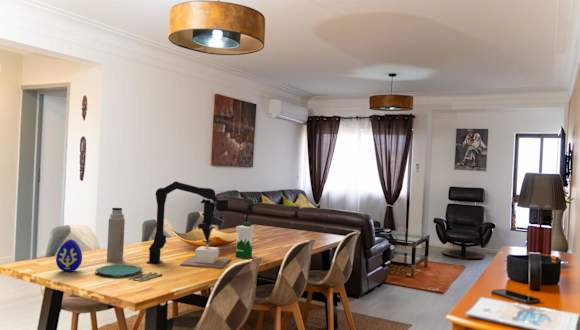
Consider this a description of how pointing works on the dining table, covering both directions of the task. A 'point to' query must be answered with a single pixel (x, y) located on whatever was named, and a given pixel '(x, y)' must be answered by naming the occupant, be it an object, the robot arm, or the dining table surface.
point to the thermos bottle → (115, 236)
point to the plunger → (207, 242)
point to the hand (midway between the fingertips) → (207, 240)
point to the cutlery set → (124, 272)
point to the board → (218, 264)
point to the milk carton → (244, 240)
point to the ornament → (69, 256)
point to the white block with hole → (206, 254)
